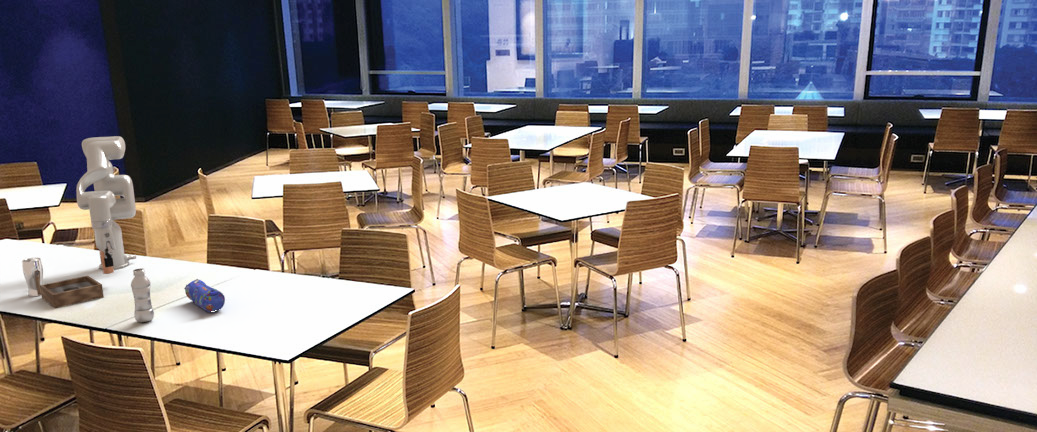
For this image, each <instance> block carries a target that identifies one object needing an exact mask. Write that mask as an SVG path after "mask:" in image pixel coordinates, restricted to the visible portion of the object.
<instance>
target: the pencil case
mask: <svg viewBox="0 0 1037 432" xmlns="http://www.w3.org/2000/svg"><path fill="white" fill-rule="evenodd" d="M184 290H185V291H184V292H185V295H186V297H187V298H188V299H189V300H191V302H193V303H194V304H195V305H196V306H198V307H200V309H203V310H205V311H206V312H207V313H210V312H211V311H215V310H219V309H220V310H222V309H223V307H224V305H225V303H226V302H225V301H226V298H225V295H224V293H222V292H221V291H220V290H218V289H216V288H215V287H211V286H209V285H208V284H206V283H205V282H204V281H203V280H202V279H198V278H196V279H194V280H192V281H191V282H189V283H188V284H186V285H185V287H184ZM220 310H219V311H220Z"/></svg>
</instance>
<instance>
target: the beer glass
mask: <svg viewBox="0 0 1037 432" xmlns="http://www.w3.org/2000/svg"><path fill="white" fill-rule="evenodd" d="M21 263H22V265H21V266H22V273H23V276H24V279H25V282H26V284H27V289H28V292H27V293H28V294H27V295H28V297H31V298H33V297H40V296H41V290H40V285H44V283H43V282H44V269H43V263H42V259H41V257H30V258H24V259H22V261H21Z"/></svg>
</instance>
